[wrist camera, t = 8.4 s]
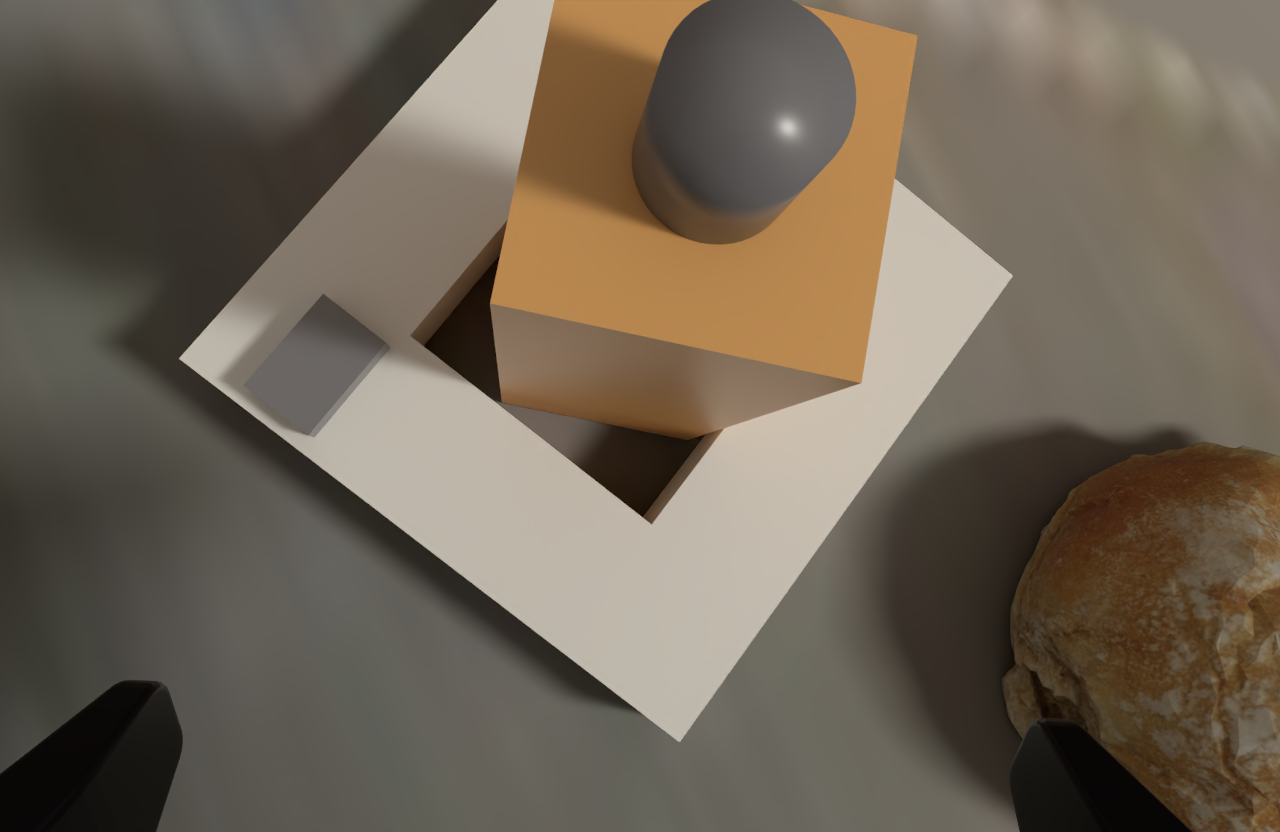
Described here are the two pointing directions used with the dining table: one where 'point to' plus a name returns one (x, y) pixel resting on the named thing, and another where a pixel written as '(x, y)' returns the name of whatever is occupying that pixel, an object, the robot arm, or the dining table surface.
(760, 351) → the plug
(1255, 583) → the bread roll
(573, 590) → the socket plate
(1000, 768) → the dining table surface
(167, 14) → the dining table surface
